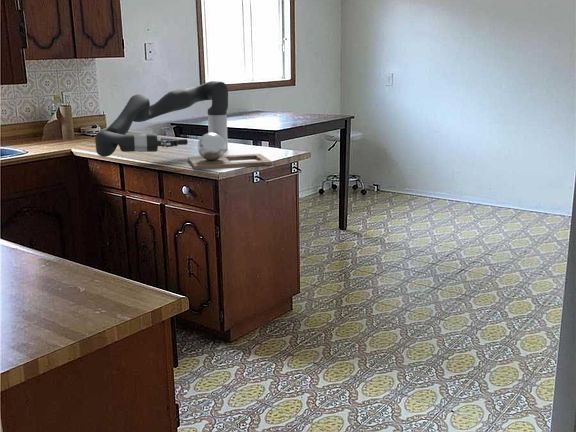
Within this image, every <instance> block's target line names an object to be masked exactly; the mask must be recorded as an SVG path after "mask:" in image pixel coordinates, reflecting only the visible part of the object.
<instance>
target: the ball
mask: <svg viewBox="0 0 576 432" xmlns="http://www.w3.org/2000/svg"><path fill="white" fill-rule="evenodd" d="M196 146H197V151H198V152H197V153H199V155H200V157H203V158H204V159H206V160H209V161H214V160H217V159H219V158H221V157H222V156H224V154H225V152H226V150H225V142H224V140H223V138H222V137H221V136H220V135H218V134H216V133H209V132H207V133H205V134H203V135H202V136H201V137H200V138H199V139H198V141H197V145H196Z"/></svg>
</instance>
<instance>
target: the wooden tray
mask: <svg viewBox="0 0 576 432" xmlns="http://www.w3.org/2000/svg"><path fill="white" fill-rule="evenodd" d="M239 160H247V161H239ZM249 160H250V161H249ZM187 162H188V163H189V164H190V165H191V167H192V168H193V169H194V170H210V169H225V168H226V169H227V168H242V167H243V168H245V167H247V168H248V167H263V166H272V165H273V161H272V160H270V159H269V158H267V157H266V156H265V155H263V154H261V153H249V154H247V153H246V154H232V155H231V154H229V155H222V157H221V158H219V159H217V160H214V161H209V160H206V159H204V158H203V157H202V156H193V157H187Z"/></svg>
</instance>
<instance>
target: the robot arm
mask: <svg viewBox="0 0 576 432" xmlns="http://www.w3.org/2000/svg"><path fill="white" fill-rule="evenodd" d="M203 101H204V102H205V101H211V106H210V107H209V108H207V126H208V128H207V130H208V133H216V134H218V135H220V136H221V137H222V138H223V140H224V142H225V151H226V150H228V148H229V147H228V144H229V143H228V122H227V121H228V115H227V111H228V109H229V90H228V86H227V84H226V83H225V82H223V81H220V80H218V81H217V80H211V81H207V82H204V83H202V84H200V85H196V86H194V87H193V86H192V87H186V88H179V89H176V90H171V91H168V92H167V93H165V94H164V95H163V96H162V97H161V98H160V99H159V100H158V101H156V102H155V103H153V104H151V105H150V99H149V98H148V97H147V96H146V95H143V94H135V95H132V96H131V97H129V100H128V101H127V103H126V105H125V106H124V108H123V109H122V111H121V112H120V114H119V115H118V116H117V117H116V119H115V120H114V121H113V122H112V123H111V124H110V125H109V126H108V127H107V128H106V129H105V130H101V131H98V132H97V133H96V134H95V135H94V136H95V137H94V142H95V151H96V153H97V156H100V157H103V158H106V157H111V155H113V154H114V153H115V151H116V149H117V148H118V146H119V149H120V151H121V152H122V153H123V152H124V153H128V152H129V153H135V152H138V153H151V152H152V153H154V152H155V153H156V152H158V150H159V149H158V148H159V147H161V148H163V149H164V148H165V149H167V148H170V147H171V148H172V147H177V146H178V147H179V146H180V145H181V146H184V145H185V146H186V145H188V139H187V138H177V137H176V138H175V137H173V138H172V137H165V136H162V137H160V138H158V135H157V134H156V133H138V134H136V133H135V134H127V133H128V132H129V130H130V128H131V126H132V124H133V122H135V123H142V122H147V121H150V120H152V119H153V118H154V119H155V118H156V117H159V116H162V115H165V114H166V115H167V114H169V113H172V112H178V111H182V110H185V109H188V108H190V107H191V106H193V105H194V104H196V103H199V102H203Z"/></svg>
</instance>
